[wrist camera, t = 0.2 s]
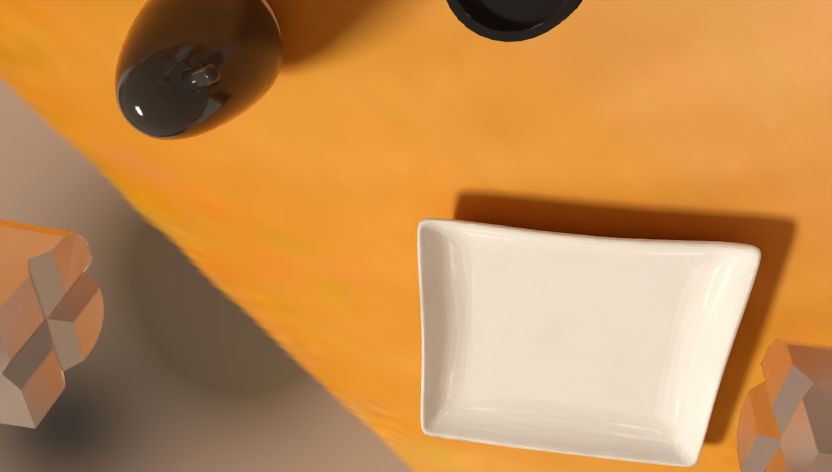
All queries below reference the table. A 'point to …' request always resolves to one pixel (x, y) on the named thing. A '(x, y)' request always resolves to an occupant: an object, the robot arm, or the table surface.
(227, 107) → the pump dispenser
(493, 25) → the coffee cup
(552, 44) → the table surface
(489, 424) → the square plate
